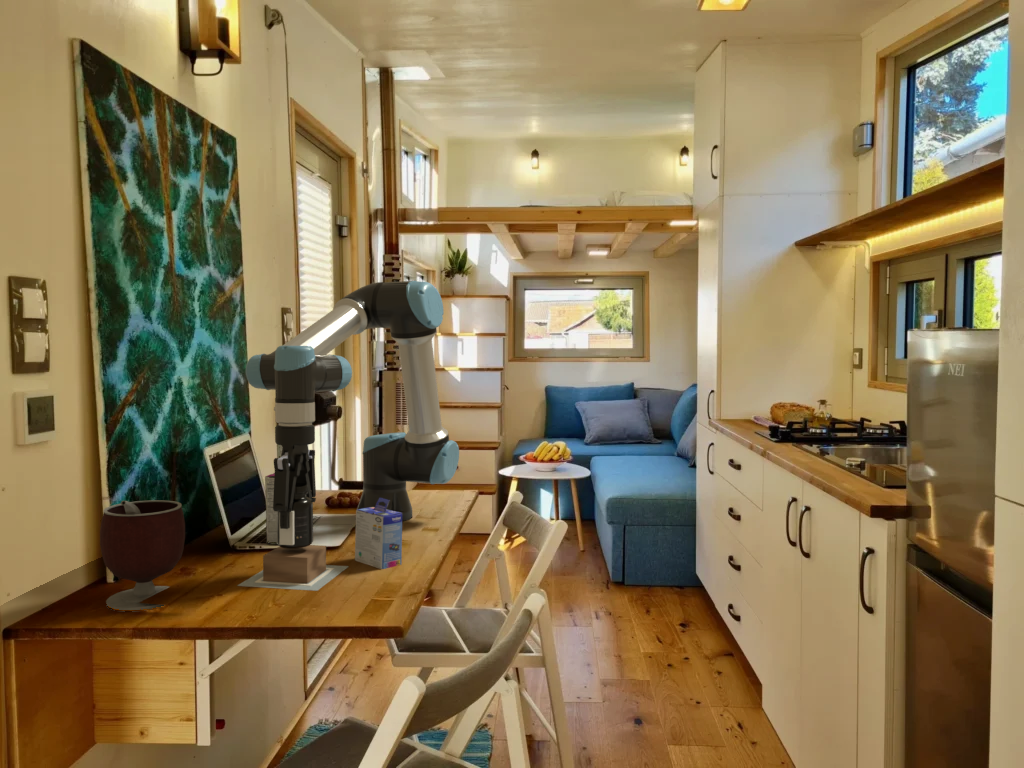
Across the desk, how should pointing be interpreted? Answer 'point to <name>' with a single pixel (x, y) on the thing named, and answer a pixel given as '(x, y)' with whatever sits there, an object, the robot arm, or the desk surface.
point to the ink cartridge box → (378, 536)
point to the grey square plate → (312, 585)
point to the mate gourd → (141, 547)
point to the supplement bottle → (300, 518)
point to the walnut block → (294, 564)
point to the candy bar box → (270, 510)
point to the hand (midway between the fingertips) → (295, 539)
